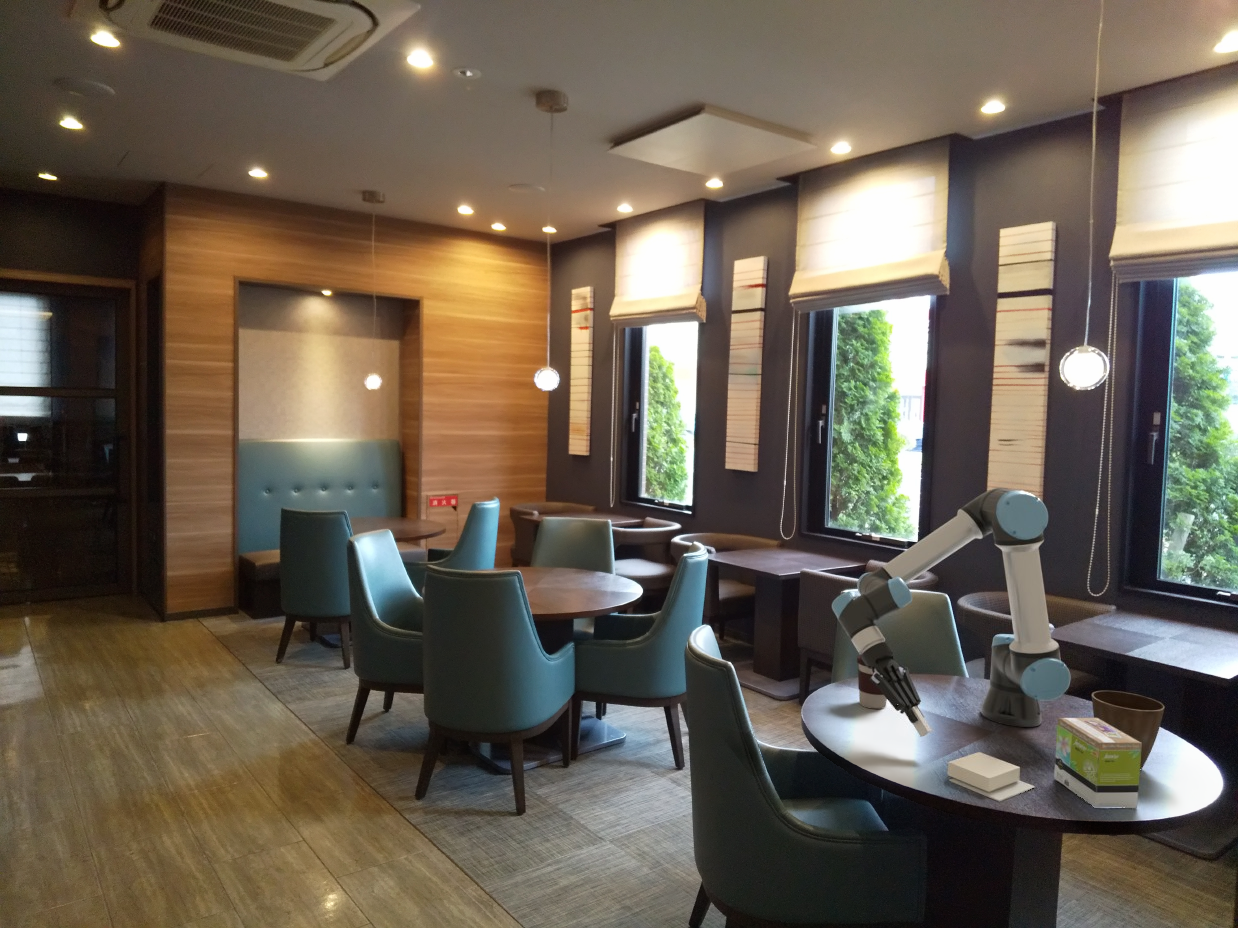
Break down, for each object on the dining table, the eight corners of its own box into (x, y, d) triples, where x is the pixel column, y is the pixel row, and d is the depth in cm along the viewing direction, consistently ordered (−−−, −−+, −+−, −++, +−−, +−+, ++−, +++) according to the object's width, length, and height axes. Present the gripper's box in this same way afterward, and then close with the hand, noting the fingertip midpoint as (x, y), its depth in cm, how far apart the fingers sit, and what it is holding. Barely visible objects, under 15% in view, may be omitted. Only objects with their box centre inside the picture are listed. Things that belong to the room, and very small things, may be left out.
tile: (979, 751, 198) (1020, 767, 189) (978, 765, 198) (1019, 781, 190) (948, 761, 191) (989, 778, 183) (947, 776, 191) (988, 793, 183)
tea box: (1051, 779, 193) (1056, 715, 192) (1093, 779, 194) (1098, 716, 193) (1094, 809, 178) (1099, 740, 177) (1139, 809, 179) (1144, 741, 178)
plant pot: (1073, 757, 206) (1077, 693, 206) (1114, 750, 213) (1118, 687, 212) (1132, 782, 193) (1137, 713, 192) (1173, 773, 199) (1179, 706, 198)
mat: (985, 768, 197) (985, 766, 197) (1035, 787, 188) (1035, 786, 188) (949, 780, 189) (949, 779, 189) (999, 801, 180) (999, 800, 180)
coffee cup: (892, 712, 234) (895, 659, 233) (855, 708, 236) (858, 655, 235) (888, 701, 244) (891, 649, 243) (853, 697, 246) (856, 646, 245)
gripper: (880, 652, 221) (932, 736, 209) (847, 659, 214) (899, 745, 201) (898, 637, 217) (953, 721, 204) (865, 643, 209) (919, 731, 197)
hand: (926, 733), depth 203 cm, fingers closed
